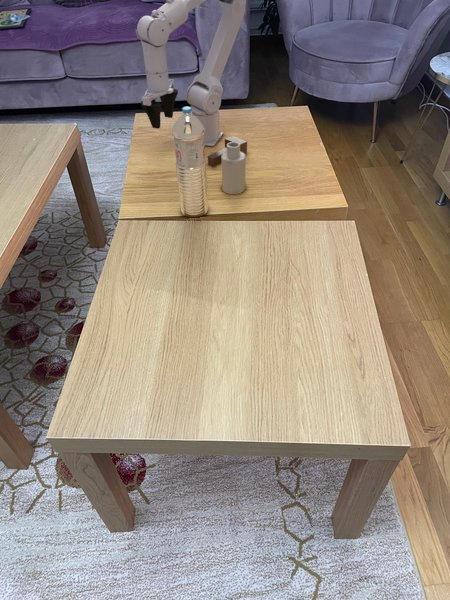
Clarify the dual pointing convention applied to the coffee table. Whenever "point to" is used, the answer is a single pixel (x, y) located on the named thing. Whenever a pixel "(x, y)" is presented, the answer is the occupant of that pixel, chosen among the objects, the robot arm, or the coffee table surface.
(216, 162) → the brush
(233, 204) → the coffee table surface
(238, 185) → the silver bottle
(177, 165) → the water bottle
